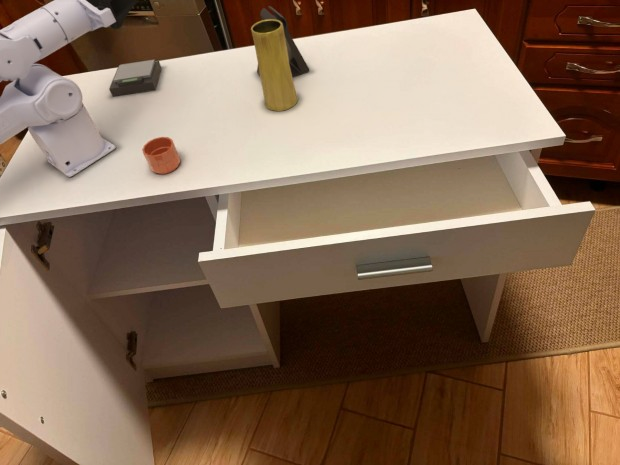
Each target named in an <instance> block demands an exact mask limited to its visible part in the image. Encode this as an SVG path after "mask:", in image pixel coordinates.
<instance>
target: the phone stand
mask: <svg viewBox="0 0 620 465" xmlns="http://www.w3.org/2000/svg"><path fill="white" fill-rule="evenodd" d="M267 8H268V9H269V10H270V11H271V12H273V14H272V13H271V12H269V10H268V9H266V8H265V7H262V9H261V11H260V15H259V18H260V21H262V20H266V19H276V20H279V21H281V22H282V24H283V28H284V34H285V41H286V47H287V52H288V58H289V66H290V69H291V74H292V78H293V79H294V78H296V77H299V76H301V75H304V74H307V73H308V72H310V68H309V65H308V64H307V63H306V60H305V59H304V57H303V56H302V53H301V52H300V49H299V48H298V46H297V45H296V43H295V40H294V38H293V37H292V36H291V34H290V31H289V24H288V23H289V22H288V20H287V18H285V17H284V16H283V15H282V14H281V13H280V12H278V11H277V10H276V9H274V7H272V6H270V5H268V6H267ZM256 74H258V76H260V71H259V66H258V65H257V67H256Z"/></svg>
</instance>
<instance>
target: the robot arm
mask: <svg viewBox="0 0 620 465" xmlns="http://www.w3.org/2000/svg"><path fill="white" fill-rule="evenodd" d="M139 1H140V0H52V1H50V2H49V3H46V4H45V5H43V6H41V7H39V8H37V9H35V10H34V11H32V12H29V13H28V14H26V15H24V16H23V17H21V18H18V19H17V20H15V21H14V22H12V23H11V24H9V25H7V26H6V27H3V28H2V29H0V83H2V82H3V81H4V82H8V81H10V83H8V84H6V85H5V87H4V89H3V91H2V94H1V96H0V146H1V145H2V144H4V143H5V142H7V141H8V140H10V139H11V138H13V137H14V136H16V135H18V134H19V133H21V132H22V131H24V130H25V129H28V132H29V134H30V136H31V137H32V139H33V140H34V142H35V143H36V144H37V146H38V147H39V149H40V150H41V152H42V153H43V155H44V157H45V158H46V160H47V162H48V163H49V164H50V165H52V166H53V167H54V168H56V169H57V170H58V171H59V172H61V173H62V174H64V175H65V176H67V177H68V178H72V177H74V176H75V175H76V174H78V173H79V172H81V171H82V170H84V169H85V168H88V167H89V166H90V165H92V164H94V163H95V162H97V161H98V160H100V159H102V158H103V157H105V156H106V155H108V154H109V153H111V152H112V151H114V150H115V149H116V145H115V144H113V143H111V142H110V141H109V140H106V139H105V138H103V137H102V136H101V134H100V132H99V130H98V128H97V126H96V125H95V122H94V121H93V119H92V117H91V116H90V113H89V112H88V110H87V108H86V106H85V104H84V102H83V93H82V90H81V88H80V87H79V85H78V84H77V83H76V82H75V81H73V80H72V79H70V78H67V77H65V76H62V75H61V74H59V73H57V72H55V71H53V70H52V69H51V68H49V67H48V66H47V65H44V64H40V63H37V62H39V61H40V60H43V59H44V58H46V57H48V56H49V55H51V54H53V53H55V52H56V51H58V50H60V49H61V48H63V47H65V46H66V45H68V44H70V43H72V42H73V41H75V40H77V39H78V38H80V37H81V36H83V35H86V34H87V33H88V32H93V31H95V30H97V29H101V28H108V27H110V28H111V29H114V30H119V29H120V28H122V27H123V24H124V22H125V19H126V18H127V16H128V14H129V12H130V11H131V10H132V9H133V7H135V5H136V4H137V3H138V2H139Z"/></svg>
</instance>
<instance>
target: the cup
mask: <svg viewBox="0 0 620 465" xmlns="http://www.w3.org/2000/svg"><path fill="white" fill-rule="evenodd" d="M141 150H142V154H143V156H144V159H145V160H146V162H147V164H148V166H149V169H150V171H152V172H153V173H154V174H155V173H156V174H159V175H167V174H170V173H172V172H174V171H175V170H176V169H177V168H178V167H179V165H180V162H181V156H180V154H179V153H178V150H177V147H176V146H175V142H174V140H173V139H172V138H170V137H168V136H158V137H154V138H153V139H150V140H149V141H147V142H146V143H145V144H144V145H143V147H142V149H141Z"/></svg>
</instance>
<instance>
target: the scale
mask: <svg viewBox="0 0 620 465" xmlns="http://www.w3.org/2000/svg"><path fill="white" fill-rule="evenodd" d="M162 70H163V69H162V65H161V63H160V61H159V60H155V59H148V60H143V61H136V62H130V63H129V62H128V63H123V64H119V65H118V67H117V69H116V71H115V73H114V76H113V78H112V80H111V83H110V85H109V88H108V90H109V93H110V95H111V96H112V97H119V96H125V95H132V94H138V93H144V92H145V93H146V92H151V91H156V90H157V86H158V82H159V79H160V76H161V72H162Z"/></svg>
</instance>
